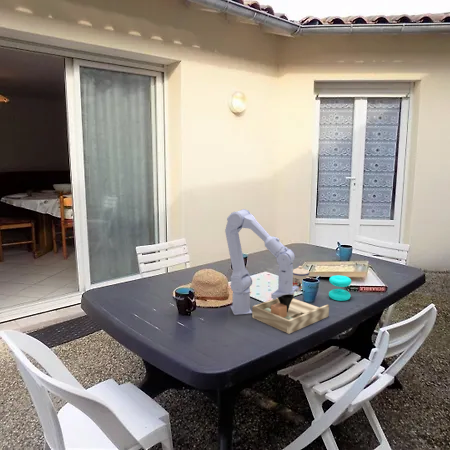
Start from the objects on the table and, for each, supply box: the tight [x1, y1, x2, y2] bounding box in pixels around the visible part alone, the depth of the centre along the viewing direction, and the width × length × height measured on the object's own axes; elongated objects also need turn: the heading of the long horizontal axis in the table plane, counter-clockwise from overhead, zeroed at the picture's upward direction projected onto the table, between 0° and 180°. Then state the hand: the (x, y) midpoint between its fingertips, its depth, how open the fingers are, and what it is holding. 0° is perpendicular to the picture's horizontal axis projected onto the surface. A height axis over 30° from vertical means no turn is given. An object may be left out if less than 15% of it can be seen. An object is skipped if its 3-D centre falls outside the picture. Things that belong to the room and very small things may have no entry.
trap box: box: [251, 293, 330, 335], centre depth 162 cm, size 25×20×5 cm
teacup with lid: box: [293, 265, 310, 292], centre depth 196 cm, size 12×9×12 cm
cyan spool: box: [328, 274, 352, 302], centre depth 184 cm, size 10×10×10 cm
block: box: [271, 303, 287, 318], centre depth 157 cm, size 4×4×4 cm
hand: (285, 311), depth 160 cm, fingers closed
